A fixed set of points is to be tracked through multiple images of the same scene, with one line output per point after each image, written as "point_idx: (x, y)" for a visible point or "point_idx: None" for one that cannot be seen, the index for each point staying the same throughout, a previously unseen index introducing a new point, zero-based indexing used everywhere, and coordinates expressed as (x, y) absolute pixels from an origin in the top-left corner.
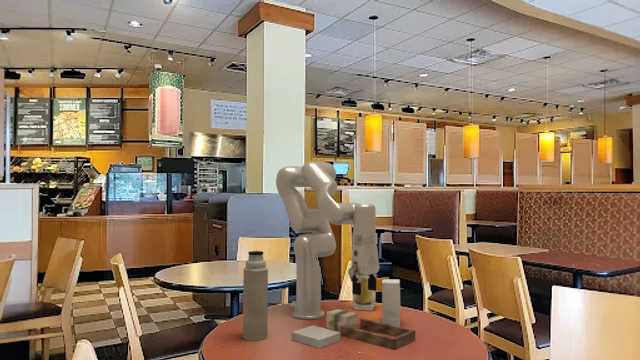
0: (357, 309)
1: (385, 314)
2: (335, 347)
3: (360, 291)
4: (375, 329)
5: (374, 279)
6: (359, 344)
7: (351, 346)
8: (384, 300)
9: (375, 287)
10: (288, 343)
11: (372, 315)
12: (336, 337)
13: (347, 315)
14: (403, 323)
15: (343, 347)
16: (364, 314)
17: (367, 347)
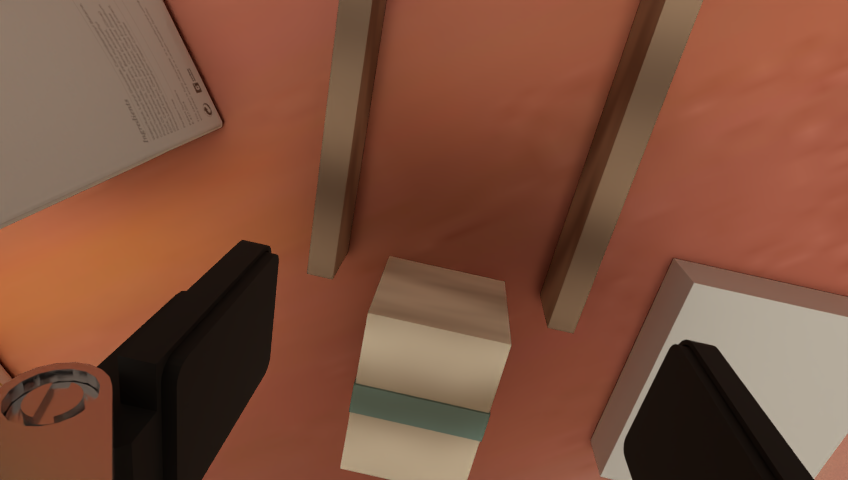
0: None
1: (163, 122)
2: (829, 228)
3: (730, 374)
4: (364, 129)
5: (156, 385)
6: (711, 110)
7: (775, 143)
8: (74, 164)
9: (248, 267)
10: (828, 470)
11: (51, 283)
12: (725, 280)
13: (468, 353)
14: None
15: (814, 183)
16: (72, 333)
17: (762, 27)
